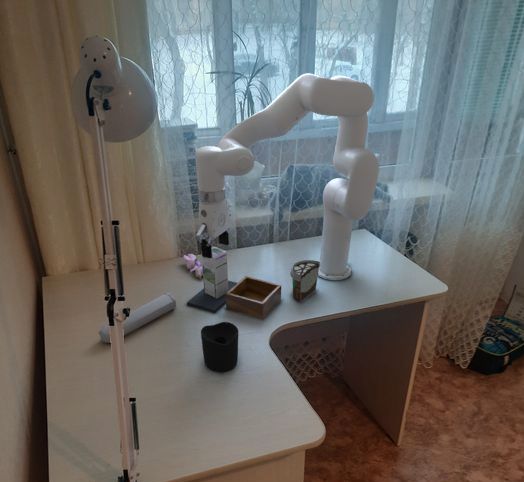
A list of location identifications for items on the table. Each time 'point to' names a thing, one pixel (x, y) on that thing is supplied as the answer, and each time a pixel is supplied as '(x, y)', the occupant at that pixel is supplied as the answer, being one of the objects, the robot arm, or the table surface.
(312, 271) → the food container
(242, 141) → the robot arm
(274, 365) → the table surface
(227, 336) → the pen holder
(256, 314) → the open box
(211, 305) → the mat
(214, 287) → the syrup box
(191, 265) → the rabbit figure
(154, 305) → the tube
